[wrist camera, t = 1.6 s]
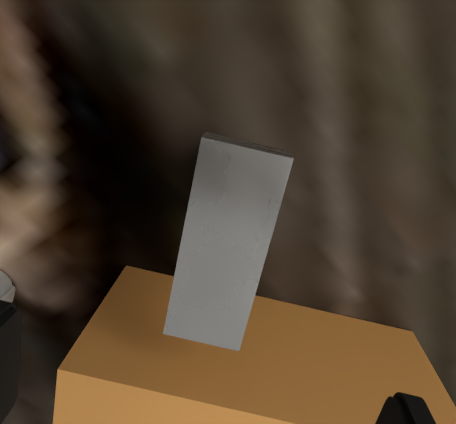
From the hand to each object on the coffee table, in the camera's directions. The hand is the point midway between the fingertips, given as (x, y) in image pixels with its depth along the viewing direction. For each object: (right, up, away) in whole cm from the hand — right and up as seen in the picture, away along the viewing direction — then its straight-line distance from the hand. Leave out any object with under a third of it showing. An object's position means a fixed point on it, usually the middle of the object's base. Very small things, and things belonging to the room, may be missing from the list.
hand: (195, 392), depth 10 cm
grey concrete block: (+1, +6, +15) cm, 16 cm away
